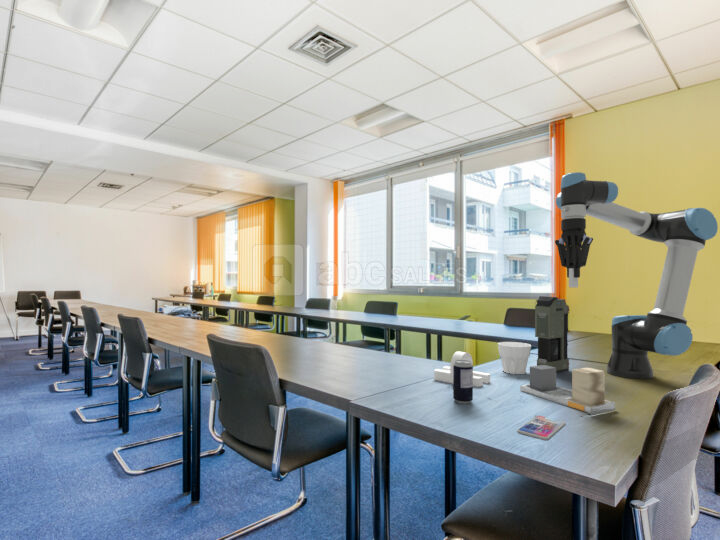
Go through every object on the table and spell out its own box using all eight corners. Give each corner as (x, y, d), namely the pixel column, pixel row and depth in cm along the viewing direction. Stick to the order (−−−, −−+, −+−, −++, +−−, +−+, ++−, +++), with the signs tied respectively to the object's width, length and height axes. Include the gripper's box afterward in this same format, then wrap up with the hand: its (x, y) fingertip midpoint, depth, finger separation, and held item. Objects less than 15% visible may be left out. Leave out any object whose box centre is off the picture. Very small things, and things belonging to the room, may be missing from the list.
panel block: (588, 401, 120) (588, 367, 120) (604, 406, 116) (604, 371, 116) (572, 404, 117) (572, 369, 117) (588, 409, 113) (588, 373, 113)
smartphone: (566, 421, 104) (547, 438, 93) (566, 425, 104) (547, 442, 93) (536, 414, 109) (515, 429, 98) (536, 418, 109) (515, 433, 98)
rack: (543, 388, 137) (543, 382, 137) (614, 410, 115) (614, 402, 115) (519, 392, 132) (519, 385, 132) (589, 415, 110) (589, 407, 110)
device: (550, 375, 155) (550, 297, 156) (532, 371, 162) (532, 296, 162) (570, 370, 163) (570, 296, 164) (552, 367, 170) (552, 295, 170)
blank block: (544, 389, 134) (544, 364, 134) (556, 392, 130) (556, 367, 130) (529, 391, 131) (529, 366, 131) (541, 395, 127) (541, 369, 127)
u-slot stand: (446, 375, 155) (446, 347, 155) (491, 384, 143) (491, 353, 143) (432, 380, 148) (432, 350, 148) (478, 389, 136) (478, 357, 136)
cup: (492, 368, 166) (492, 341, 166) (521, 368, 167) (521, 341, 168) (506, 376, 154) (506, 347, 154) (537, 375, 155) (537, 346, 155)
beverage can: (473, 399, 124) (473, 360, 124) (472, 405, 118) (472, 364, 118) (454, 397, 125) (454, 359, 126) (452, 403, 120) (452, 362, 120)
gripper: (549, 220, 143) (549, 286, 143) (583, 215, 132) (584, 288, 131) (563, 221, 147) (564, 286, 146) (598, 217, 135) (598, 287, 135)
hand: (573, 287), depth 139 cm, fingers closed
